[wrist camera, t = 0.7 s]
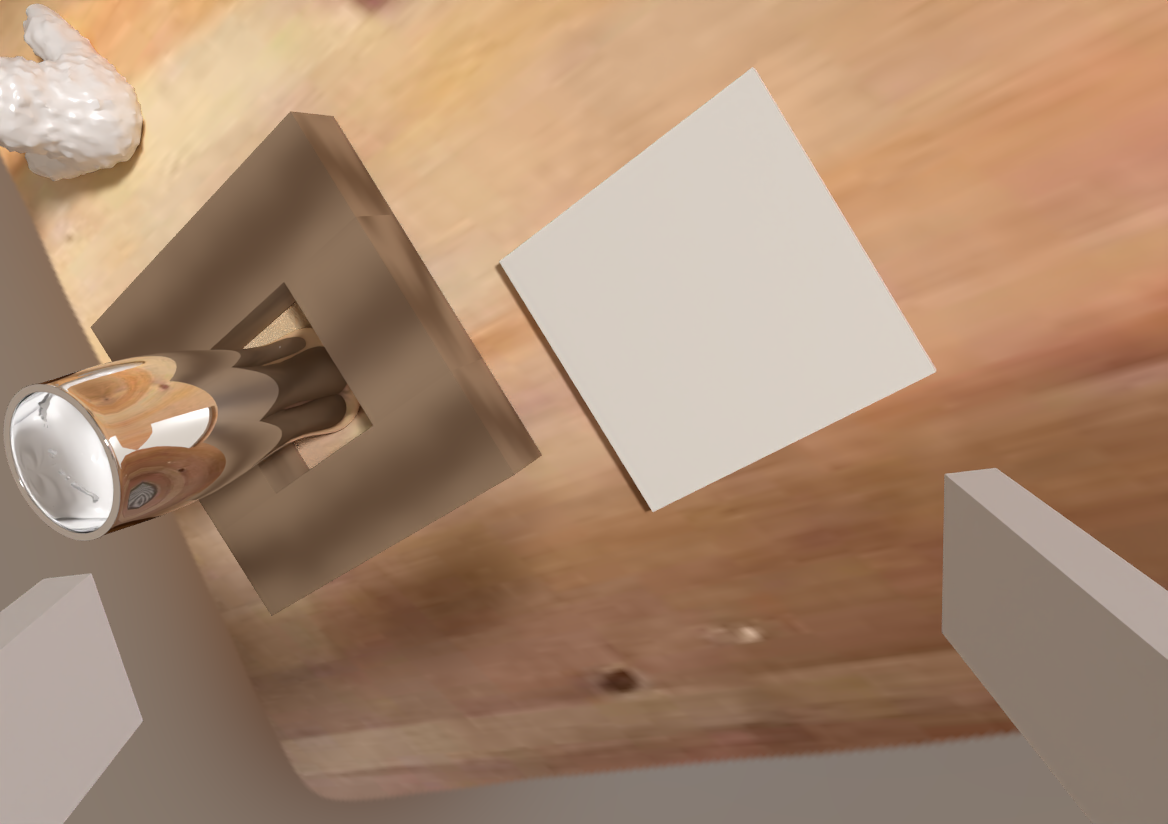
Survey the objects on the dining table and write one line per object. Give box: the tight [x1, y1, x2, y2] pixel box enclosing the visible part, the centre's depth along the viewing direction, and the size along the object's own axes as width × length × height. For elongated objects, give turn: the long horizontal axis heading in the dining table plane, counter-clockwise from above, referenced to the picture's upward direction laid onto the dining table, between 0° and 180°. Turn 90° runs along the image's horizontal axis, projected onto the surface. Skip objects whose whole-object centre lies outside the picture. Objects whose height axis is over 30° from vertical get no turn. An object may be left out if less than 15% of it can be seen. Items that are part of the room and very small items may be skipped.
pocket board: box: [91, 112, 542, 616], centre depth 43 cm, size 20×20×3 cm
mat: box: [499, 67, 936, 512], centre depth 34 cm, size 14×14×1 cm
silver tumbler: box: [3, 328, 360, 541], centre depth 38 cm, size 7×7×15 cm
